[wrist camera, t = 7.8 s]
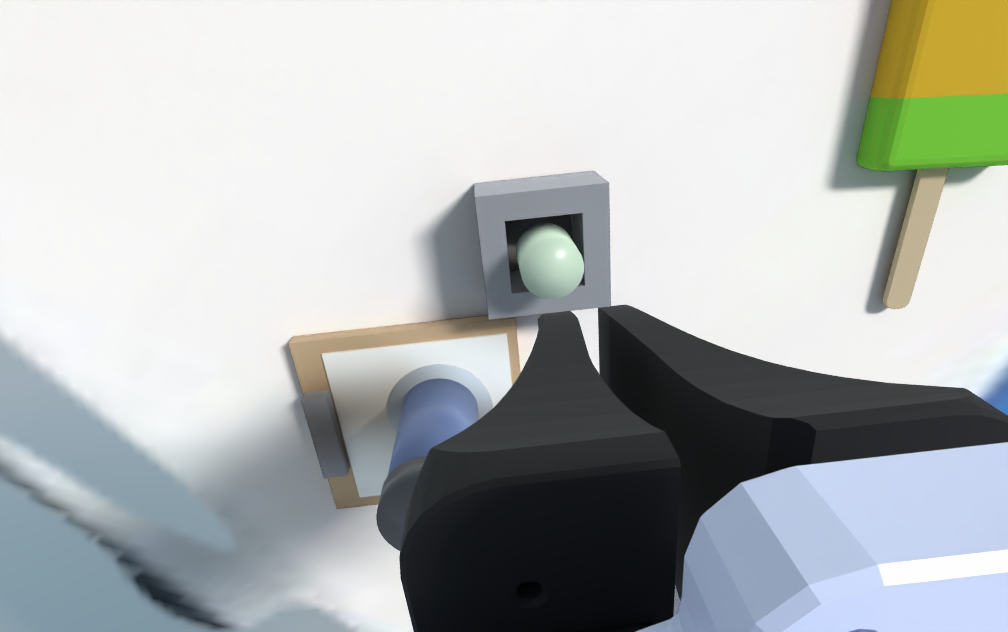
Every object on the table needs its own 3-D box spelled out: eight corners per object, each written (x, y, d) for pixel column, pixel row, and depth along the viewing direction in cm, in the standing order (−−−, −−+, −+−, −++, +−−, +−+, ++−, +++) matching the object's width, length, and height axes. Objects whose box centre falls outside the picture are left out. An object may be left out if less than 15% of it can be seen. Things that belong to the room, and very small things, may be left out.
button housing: (596, 282, 21) (610, 306, 19) (487, 294, 21) (488, 319, 19) (593, 170, 20) (609, 182, 17) (474, 183, 20) (474, 196, 17)
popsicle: (1081, -144, 17) (1150, -169, 15) (940, 295, 23) (978, 313, 21) (910, -139, 17) (961, -164, 15) (815, 302, 23) (843, 321, 21)
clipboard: (529, 478, 25) (532, 496, 24) (339, 499, 25) (333, 518, 24) (514, 312, 22) (516, 324, 21) (292, 336, 22) (283, 350, 21)
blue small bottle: (484, 439, 23) (489, 551, 18) (406, 448, 23) (387, 563, 18) (475, 371, 22) (477, 471, 16) (392, 381, 22) (366, 484, 16)
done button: (574, 274, 19) (584, 295, 17) (518, 280, 19) (523, 302, 17) (572, 219, 18) (583, 235, 16) (513, 225, 18) (518, 242, 16)
